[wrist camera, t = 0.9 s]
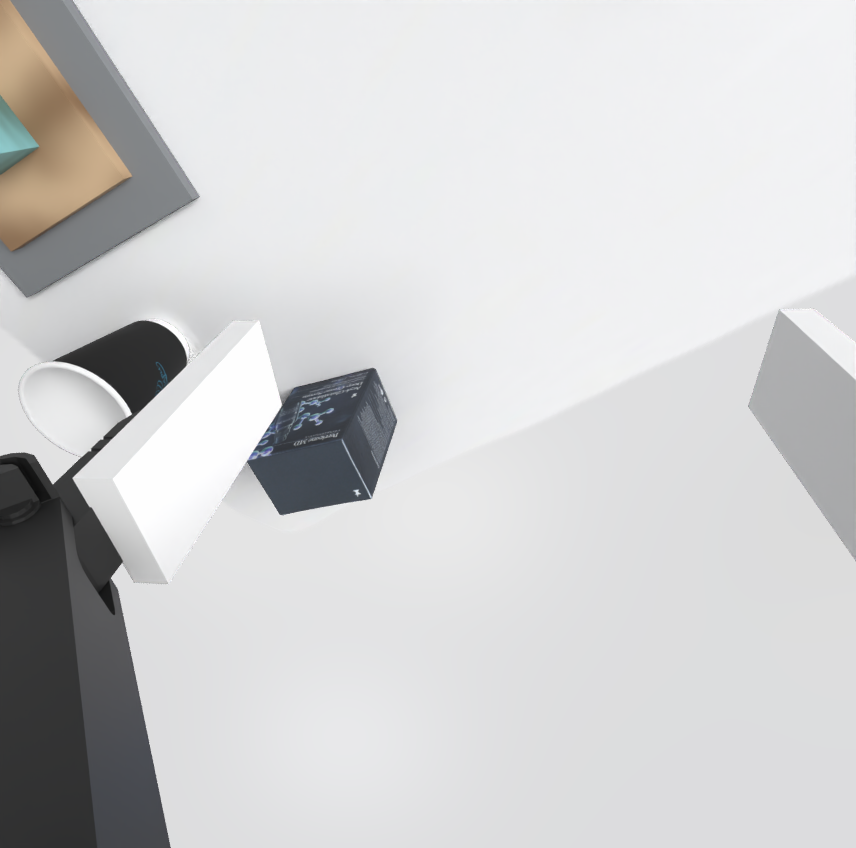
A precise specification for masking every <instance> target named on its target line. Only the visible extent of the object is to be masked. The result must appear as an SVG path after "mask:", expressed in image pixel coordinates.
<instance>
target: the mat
mask: <svg viewBox="0 0 856 848" xmlns="http://www.w3.org/2000/svg"><path fill="white" fill-rule="evenodd" d="M10 1H11V2H12V4H13V5H14V7H15V8H16V10H17V11H18V12H19V14H20V15H21V17H22V18H23V20H24V21H25V23H26V24H27V25H28V27H29V28H30V30H31V31H32V33H33V34H34V35H35V37H36V38H37V40H38V41H39V43H40V44H41V45H42V47H43V48H44V50H45V51H46V53H47V54H48V56H49V57H50V58H51V60H52V61H53V63H54V64H55V66H56V67H57V68H58V70H59V71H60V73H61V74H62V76H63V77H64V79H65V80H66V81H67V83H68V84H69V86H70V87H71V89H72V90H73V91H74V93H75V94H76V96H77V97H78V99H79V100H80V101H81V103H82V104H83V106H84V107H85V109H86V110H87V112H88V113H89V114H90V116H91V117H92V119H93V120H94V122H95V123H96V124H97V126H98V127H99V129H100V130H101V132H102V133H103V135H104V136H105V137H106V139H107V140H108V142H109V143H110V145H111V146H112V147H113V149H114V150H115V152H116V153H117V155H118V156H119V157H120V159H121V160H122V162H123V163H124V165H125V166H126V168H127V169H128V170H129V172H130V173H131V175H132V177H131V178H129V179H128V180H126V181H125V182H123V183H121V184H120V185H118V186H117V187H115V188H114V189H112V190H111V191H109V192H107V193H106V194H104V195H103V196H101V197H100V198H98V199H97V200H95V201H94V202H92V203H90V204H89V205H87V206H86V207H84V208H83V209H81V210H80V211H78V212H76V213H75V214H73V215H72V216H70V217H69V218H67V219H66V220H64V221H62V222H61V223H59V224H58V225H56V226H55V227H53V228H52V229H50V230H48V231H47V232H45V233H44V234H42V235H41V236H39V237H38V238H36V239H35V240H33V241H31V242H30V243H28V244H27V245H25V246H24V247H22V248H20V249H17V250H15V251H12V252H11V251H10V250H9V248H8V247H7V246H6V245H5V244H4V243H3V241H2V240H1V239H0V268H1V269H2V270H3V271H4V272H5V273H6V275H7V276H8V277H9V278H10V279H11V280H12V281H13V282H14V284H15V285H16V286H17V287H18V288H19V289H20V290H21V291H22V293H23V294H24V295H25V296H26V297H29V296H31V295H33V294H35V293H37V292H39V291H41V290H42V289H44V288H46V287H47V286H49V285H51V284H52V283H54V282H56V281H57V280H59V279H61V278H63V277H64V276H66V275H68V274H69V273H71V272H73V271H74V270H76V269H78V268H79V267H81V266H83V265H85V264H86V263H88V262H90V261H91V260H93V259H95V258H96V257H98V256H100V255H101V254H103V253H105V252H107V251H108V250H110V249H112V248H113V247H115V246H117V245H118V244H120V243H122V242H123V241H125V240H127V239H129V238H130V237H132V236H134V235H135V234H137V233H139V232H140V231H142V230H144V229H145V228H147V227H149V226H151V225H152V224H154V223H156V222H157V221H159V220H161V219H162V218H164V217H166V216H167V215H169V214H171V213H173V212H174V211H176V210H178V209H179V208H181V207H183V206H184V205H186V204H188V203H189V202H191V201H193V200H195V199H196V198H198V197H200V196H199V195H198V193H197V192H196V190H195V188H194V187H193V185H192V184H191V182H190V181H189V179H188V178H187V176H186V175H185V173H184V171H183V170H182V168H181V167H180V165H179V164H178V162H177V161H176V159H175V158H174V156H173V155H172V153H171V151H170V150H169V148H168V147H167V145H166V144H165V142H164V141H163V139H162V138H161V136H160V134H159V133H158V131H157V130H156V128H155V127H154V125H153V124H152V122H151V121H150V119H149V118H148V116H147V114H146V113H145V111H144V110H143V108H142V107H141V105H140V104H139V102H138V101H137V99H136V98H135V96H134V94H133V93H132V91H131V90H130V88H129V87H128V85H127V84H126V82H125V81H124V79H123V77H122V76H121V74H120V73H119V71H118V70H117V68H116V67H115V65H114V64H113V62H112V61H111V59H110V57H109V56H108V54H107V53H106V51H105V50H104V48H103V47H102V45H101V44H100V42H99V40H98V39H97V37H96V36H95V34H94V33H93V31H92V30H91V28H90V27H89V25H88V24H87V22H86V20H85V19H84V17H83V16H82V14H81V13H80V11H79V10H78V8H77V7H76V5H75V3H74V2H73V0H10Z"/></svg>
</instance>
